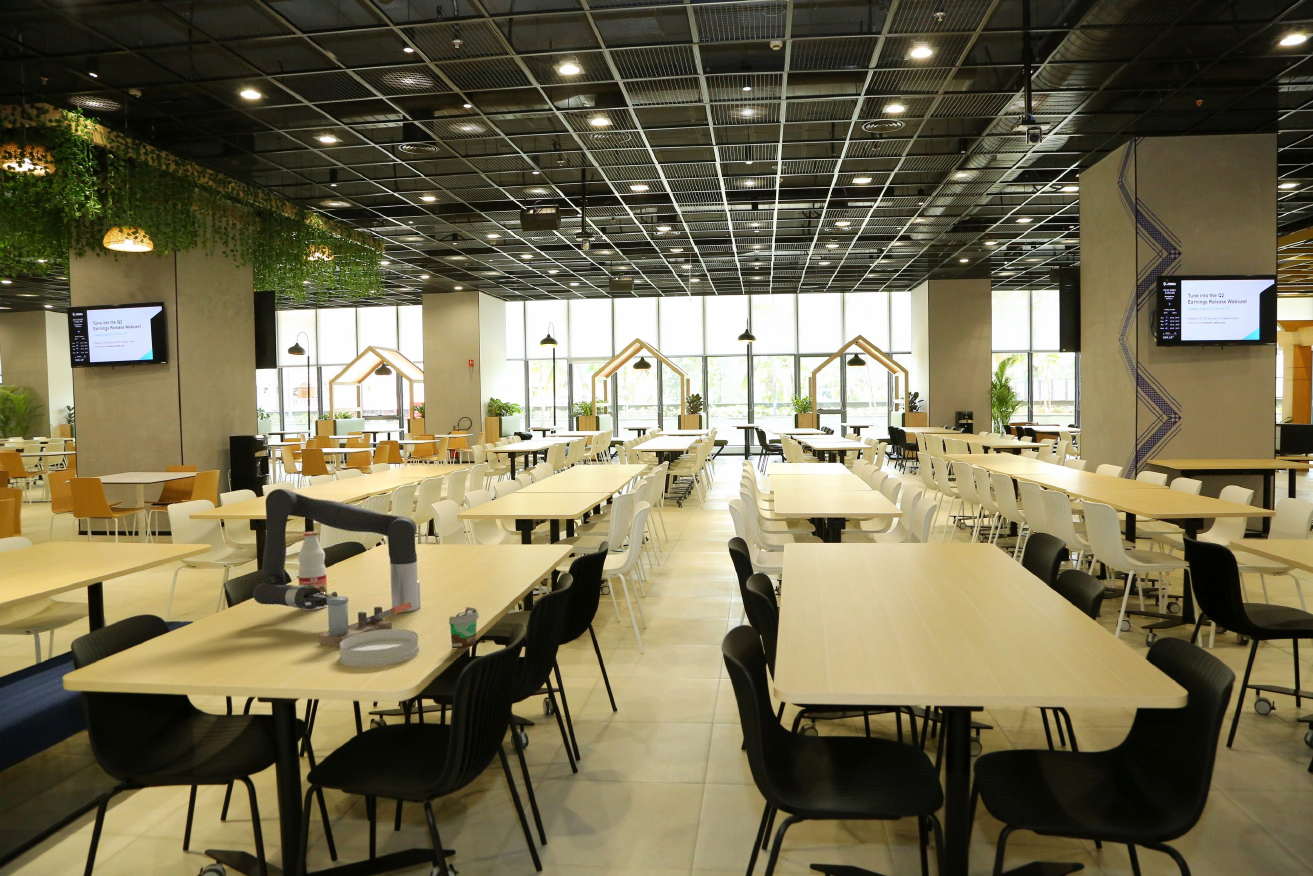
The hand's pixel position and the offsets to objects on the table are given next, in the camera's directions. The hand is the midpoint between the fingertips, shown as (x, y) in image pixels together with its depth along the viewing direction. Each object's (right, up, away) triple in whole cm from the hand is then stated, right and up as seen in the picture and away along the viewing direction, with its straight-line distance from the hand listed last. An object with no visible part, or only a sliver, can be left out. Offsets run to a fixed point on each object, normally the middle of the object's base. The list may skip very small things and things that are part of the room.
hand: (340, 601), depth 260 cm
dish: (+22, -11, -26) cm, 36 cm away
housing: (+8, -10, -7) cm, 15 cm away
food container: (+46, -10, -18) cm, 51 cm away
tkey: (+11, -5, -2) cm, 12 cm away
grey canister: (+5, -7, -13) cm, 16 cm away
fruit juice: (-23, -9, +34) cm, 42 cm away
